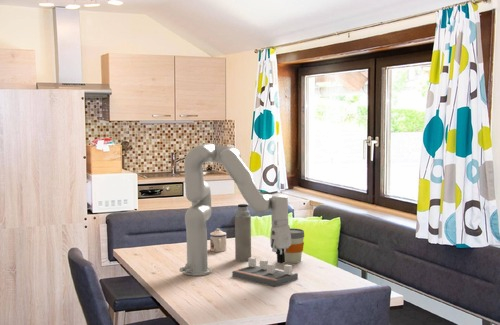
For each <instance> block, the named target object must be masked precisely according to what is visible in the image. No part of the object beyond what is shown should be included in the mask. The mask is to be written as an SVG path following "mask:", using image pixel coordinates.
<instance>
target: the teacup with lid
mask: <svg viewBox="0 0 500 325" xmlns="http://www.w3.org/2000/svg"><path fill="white" fill-rule="evenodd" d="M227 235H228V234H227V232H225V231H223V230H221V229H220V228H216V230H214V231H212V232H210V233H209V236H210V237H209V240H210V241H209V242H210V245H209V248H210V251H211V252H215V253H221V252H225V251H227Z"/></svg>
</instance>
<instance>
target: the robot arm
mask: <svg viewBox="0 0 500 325" xmlns="http://www.w3.org/2000/svg"><path fill="white" fill-rule="evenodd" d="M241 156H242V155H241V153H240V151H239V150H238V149H237V148H235V147H233V146H226V145H221V144H216V143H210V142H209V143H202V144H198V145H197V146H195V147H193V148H191V149H190V150H189V151H188V152H187V154H186V156H185V158H184V165H183V167H184V183H185V184H184V186H185V187H184V188H185V196H186V199H187V200H188V202H191V206H190V207H189V208H187V210H186V212H185V214H184V224H185V230H186V231H185V232H186V237H185V238H186V263H185V266H182V267H180V268H179V269H178V270H179V272H180V273H183V274H184V275H187V276H196V277H197V276H206V275H209V274H211V272H212V269H211V268H210V267H208V263H209V262H208V232H207V231H208V229H207V221H208V220H210V219H211V216H212V195H211V188H210V185H209V184H208V182H207V181H205V179H204V169H203V165H204V164H205V163H209V162H211V163H217V164H221V166H222V167H223V169H224V170H225V171H226V173H227V174H228V175H229V176H230V178H231V179H232V181H234V183H235V184H236V186H237V189H238V190H239V192H240V194H241V196H242V197H243V199H244V200H245V202H246V204H247V205H248V206H249V207H250V208H251V209H252V211H253V212H255V213H257V214H259V215H261V214H264V213H266V212H268V211H271V227H270V239H269V240H270V247H271V249H272V250H271V252H273V253H275V255H276V262H277V264H285V263H286V262H285V253H286V249H287V248H289V246H291V231H290V228H291V227H290V224H289V203H288V202H289V199H288V197H287V195H285V194H276V195H275V194H274V195H272V194H265V193H264V194H263V193H261V192H260V190H259V189H258V188H257V185H256V184H255V182H254V178H253V174H252V171H251V170H250V169H249V168H248V166H247V165H246V164H245V163H244V161H243V160H242V158H241Z"/></svg>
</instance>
